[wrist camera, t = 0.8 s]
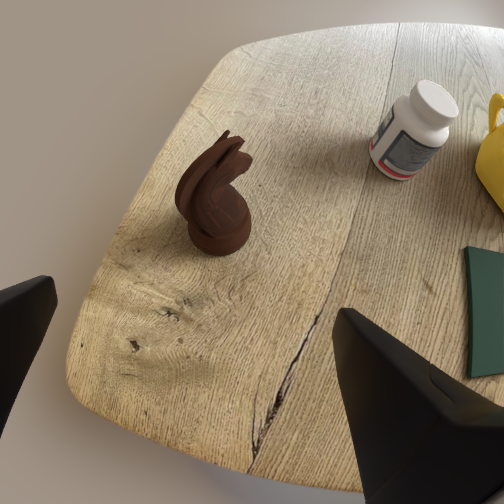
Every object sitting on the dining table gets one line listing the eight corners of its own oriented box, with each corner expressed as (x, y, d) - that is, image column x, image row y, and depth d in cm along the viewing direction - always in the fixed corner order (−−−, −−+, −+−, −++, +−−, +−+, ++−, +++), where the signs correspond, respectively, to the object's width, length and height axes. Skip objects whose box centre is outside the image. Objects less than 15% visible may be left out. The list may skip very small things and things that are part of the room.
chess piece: (263, 229, 24) (290, 151, 14) (210, 273, 23) (203, 215, 13) (223, 187, 25) (226, 96, 15) (170, 227, 23) (143, 147, 14)
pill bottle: (423, 178, 27) (476, 125, 19) (383, 185, 26) (435, 126, 18) (399, 133, 29) (441, 75, 20) (358, 137, 28) (397, 72, 19)
